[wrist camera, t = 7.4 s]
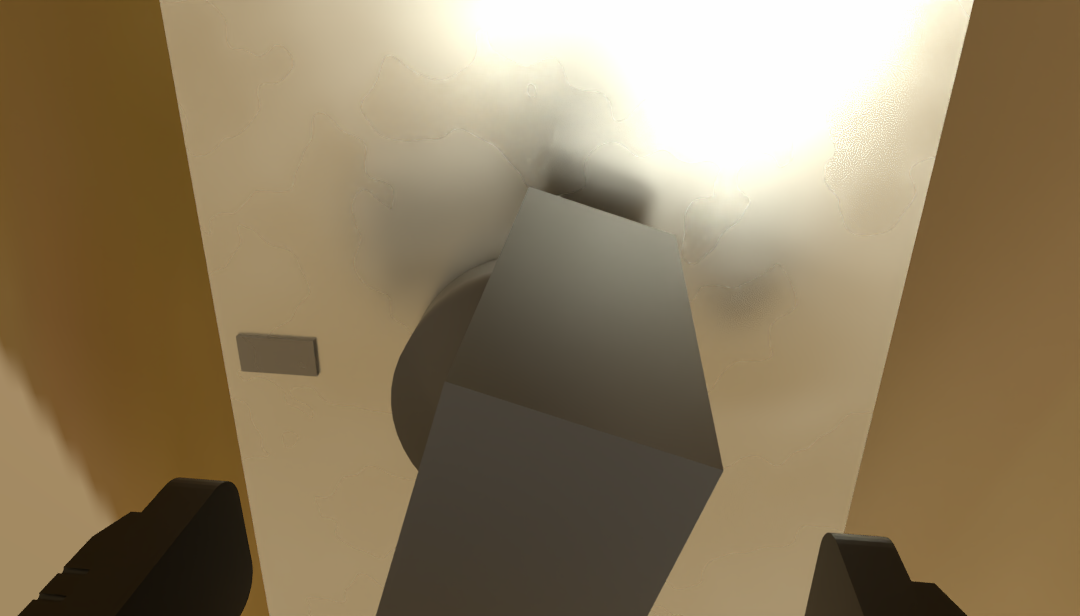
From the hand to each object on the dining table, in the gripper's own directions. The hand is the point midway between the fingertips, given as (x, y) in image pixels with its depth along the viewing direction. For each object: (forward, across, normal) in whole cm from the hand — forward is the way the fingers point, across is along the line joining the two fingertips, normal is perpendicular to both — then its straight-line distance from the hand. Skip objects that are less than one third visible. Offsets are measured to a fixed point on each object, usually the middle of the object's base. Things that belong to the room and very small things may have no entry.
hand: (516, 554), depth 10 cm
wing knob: (+5, 0, 0) cm, 5 cm away
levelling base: (+8, 0, -1) cm, 8 cm away
